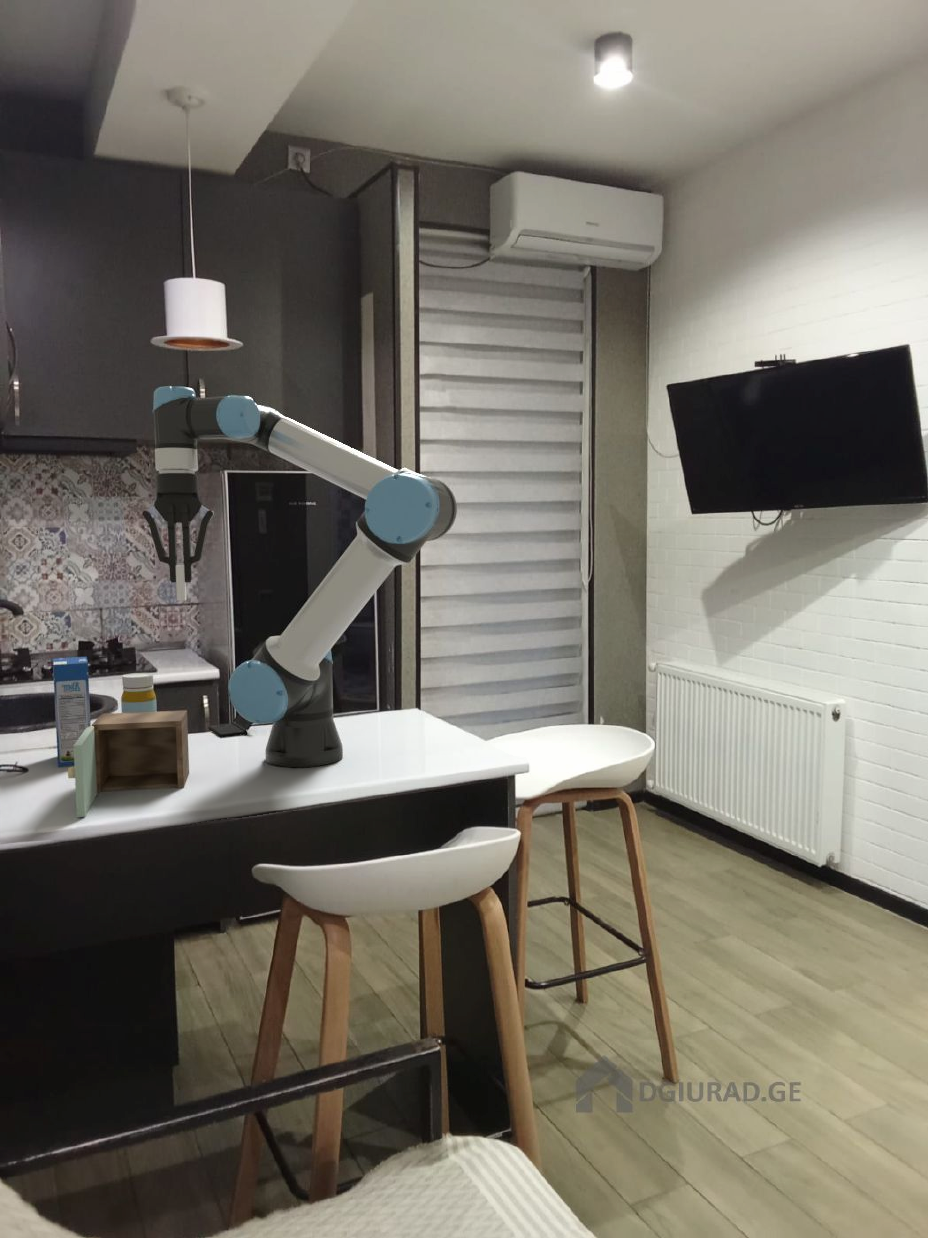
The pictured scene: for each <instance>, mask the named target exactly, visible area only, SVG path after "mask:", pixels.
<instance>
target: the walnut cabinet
mask: <svg viewBox="0 0 928 1238" xmlns="http://www.w3.org/2000/svg"><path fill="white" fill-rule="evenodd" d="M91 726H94V736H95V757H96V779H97V793H102V792H108V791H109V792H110V791H111V792H112V791H114V792H115V791H129V790H146V789H147V790H149V789H163V788H164V789H165V788H167V789H168V788H178V789H179V788H180V789H181V788H182V789H183V788H185V785H186V783H187V780H188V778H189V775H190V759H189V756H190V755H189V752H190V751H189V731H188V728H189V727H188V710H187V709H186V710H165V711H164V710H161V711H157V712H134V713H122V712H115V713H114V712H113V713H101V715H99V716H98V717H97V719H95V721H94V722H92V724H91Z"/></svg>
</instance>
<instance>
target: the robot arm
mask: <svg viewBox="0 0 928 1238" xmlns="http://www.w3.org/2000/svg"><path fill="white" fill-rule="evenodd" d="M152 408H153V409H152V414H153V415H152V416H153V426H154V428H153V429H154V445H155V446H154V462H155V463H154V464H155V470H156V472H157V471H158V474H156V476H155V487H156V488H155V489H156V497H155V500H154V503H153V506H152V507H150V508H148V509H147V510H143V511H142V517H143V518H144V519H145V521H146V523H148V527H149V529H150V535H151V537H152V540H153V544H154V548H155V550H156V554H157V558H158V560H159V562H161V563H163V564H167V565H168V566H169V567H168V568H169V581H170V583H171V584H172V583H175V584H176V586H175V587H176V601H179V602H182V601H184V602H186V601H187V597H188V596H187V583H191V582H192V581H193V579H192V578H193V575H192V574H193V572H192V571H193V570H192V566H193V564H195V563H197V562H200V561H201V560H202V556H203V551H204V547H205V543H206V537H207V534H208V533H207V532H208V528H209V523H210V522H211V520H212V519H213V517H214V515H215V512H214V511H213V510H210V509H208V508H206V507H205V506H203V503H202V500H201V498H200V492H199V489H200V488H199V476H198V474H197V473H196V472H197V471H199V464H198V463H199V461H198V460H199V459H198V440H199V441H200V440H201V441H203V440H229V441H235V442H240V443H246V444H251V445H254V446H256V447H257V448H260V449H261V450H263V451H266V452H268V453H270V454H273V455H275V456H277V457H279V458H281V459H283V460H285V461H288V462H290V463H291V464H293V465H295V466H298V467H299V468H301V469H304V470H305V471H308V472H310V473H311V474H314V475H315V476H318V477H319V478H321V479H324V480H325V481H328V482H330V483H331V484H334V485H335V486H338V487H340V488H341V489H343V490H346V491H348V492H350V493H352V494H354V495H355V496H358V497H361V498H362V499H364V500H365V503H364V511H363V513H362V514H361V515H360V517H359V518H358V519H357V521H356V522H355V528H356V533H357V534H356V536H355V538H354V539H353V540H352V541H351V542H350V544H349V546H348V547H347V548H346V549H345V550H344V551H343V554H342V555H341V556H340V557H339V559H338V560H337V561H336V562H335V564H334V565H333V566H332V568H331V569H330V570H329V571H328V573H327V574H326V576H325V577H324V578H323V579H322V581H321V582H320V584H319V585H318V586H317V587H316V588H315V590H313V593H312V594H311V595H310V596H309V598H308V599H307V601H306V602H305V603H304V604H303V606H302V607H301V608H300V609H299V611H298V612H297V613H296V615H295V616H294V617H293V619H292V620H291V622H290V623H289V624H288V625H287V627H285V630H284V631H282V633H281V634H280V635H273V636H268V638H267V639H266V640H265V641H264V643H263V644H262V646H261V647H260V648H259V649H258V651H257V652H255V653H256V654H255V655H253V657H252V658H251V659H250V660H246V661H244V662H241V664H240V665H238V666H237V667H236V668H235V669H234V670H233V672H232V673H231V675H230V676H229V677H230V678H229V680H228V692H229V700H230V702H231V705H232V706H233V708H234V710H235V711H236V712H237V714H238V713H239V714H240V715H241V716H242V717H243V718H245V719H246V720H248V721H250V722H253V724H258V725H263V724H268V723H269V724H271V723H273V724H272V726H271V730H270V734H269V736H268V739H267V743H266V747H265V761H266V762H267V763H268V764H271V765H273V766H277V767H287V768H304V767H308V768H309V767H318V766H325V765H328V764H333V763H335V762H338V761H341V759H343V755H344V754H343V753H344V752H343V743H342V739H341V738H340V735H339V731H338V730H337V729H338V728H337V726H336V723H335V720H334V703H333V702H334V699H333V698H334V697H333V695H334V694H333V692H334V690H333V688H334V685H333V664H334V661H333V658H332V648H333V646H334V645H335V644H336V643H337V642H338V640H339V639H341V637H342V635H343V634H344V633H345V631H346V630H347V629H348V627H350V624H352V623H353V621H354V620H355V619H356V617H357V616H358V615H359V614H360V613H361V611H362V609H364V607H365V606H366V604H367V603H368V602H369V601H370V599H371V598H372V597H373V596H374V594H375V593H376V592H377V590H378V589H379V588H380V587H381V585H382V584H383V583H384V582H385V581H386V579H387V578H388V577H389V575H390V574H391V573H392V572H393V570H394V569H395V568H396V567H397V566H401V565H402V566H403V565H408V564H410V563H411V561H412V560H413V559H414V557H415V556H417V554H418V553H419V551H420V550H421V549H422V548H423V546H424V545H425V544H426V542H430V541H435V540H437V539H440V538H441V537H443V536H444V535H447V533H448V532H449V531H450V530H451V529H452V526H453V525H454V523H455V521H456V519H457V513H458V506H457V505H458V504H457V500H456V496H455V495H454V493H453V491H452V490H451V488H450V487H449V486H448V485H447V484H446V483H445V482H443V481H441V480H440V479H437V478H434V477H431V476H426V475H423V474H421V473H417V472H416V471H413V470H411V469H409V468H407V467H403V468H401V469H396V468H394V467H392V466H390V465H388V464H386V463H383V462H382V461H380V460H377V459H376V458H373V457H371V456H369V455H366V454H364V453H362V452H361V451H359V450H357V449H354V448H353V447H352V448H351V447H350V446H348V445H346V444H343V443H342V442H339V441H338V440H335V439H333V438H331V437H329V436H327V435H325V434H322V433H320V432H318V431H316V430H314V429H312V428H310V427H308V426H306V425H304V424H302V423H299V422H297V421H295V420H294V419H291V418H289V417H286V416H284V415H283V414H281V413H280V412H279V411H278V410H276V409H274V408H272V407H270V406H267V405H264V404H263V405H262V404H261V405H260V404H257V403H256V402H254V399H253V398H252V397H250V396H248V395H235V394H229V395H226V396H225V395H224V396H212V397H197V396H196V392H195V390H194V389H193V388H191V387H186V386H178V385H177V386H176V385H175V386H171V385H170V386H169V385H168V386H167V385H166V386H160V387H158V388H156V389H155V390H154V391H153V407H152ZM157 512H158V514H160V516H161V517H162V519H163V520H164V521H165V522H166V524H167V538H168V539H167V541H168V542H167V543H168V544H167V545H168V555H167V553H166V550H165V546H164V542H163V540H162V534H161V532H160V529H159V525H158V522H157V518H158V514H157ZM199 512H200V515H199V517H200V518H201V522H200V525H199V530H198V534H197V535H198V536H197V540H196V544H195V549H194V554H193V556H192V544H191V543H192V542H191V539H192V538H191V522H193V520H194V519H195V517H196V516H197V515H198V513H199ZM179 523H180V524H181V531H182V532H181V534H182V553H183V557H182V558H183V562H182V563H183V564H178V547H177V545H178V544H177V542H178V541H177V524H179Z"/></svg>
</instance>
